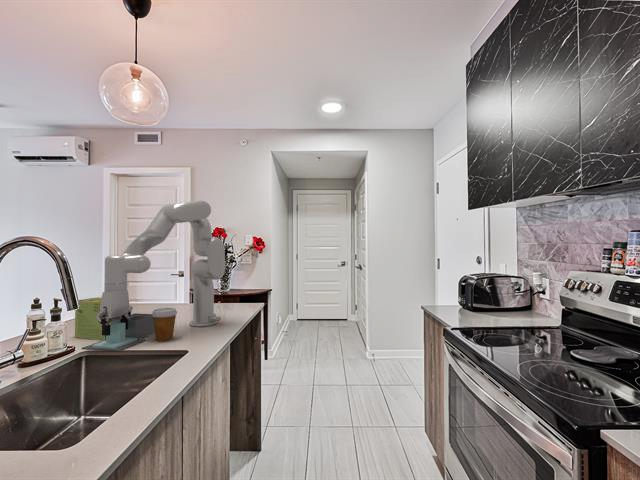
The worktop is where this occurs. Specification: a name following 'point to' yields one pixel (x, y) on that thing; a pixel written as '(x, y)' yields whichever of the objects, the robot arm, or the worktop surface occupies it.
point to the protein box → (89, 319)
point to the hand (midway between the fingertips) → (115, 332)
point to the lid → (115, 337)
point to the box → (138, 325)
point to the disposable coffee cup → (164, 323)
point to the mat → (116, 348)
